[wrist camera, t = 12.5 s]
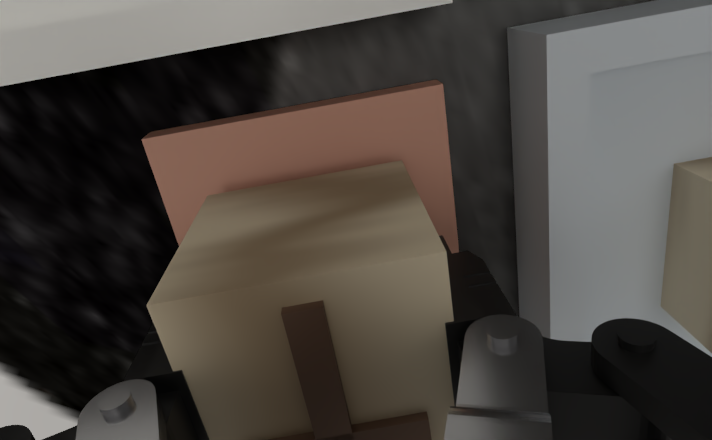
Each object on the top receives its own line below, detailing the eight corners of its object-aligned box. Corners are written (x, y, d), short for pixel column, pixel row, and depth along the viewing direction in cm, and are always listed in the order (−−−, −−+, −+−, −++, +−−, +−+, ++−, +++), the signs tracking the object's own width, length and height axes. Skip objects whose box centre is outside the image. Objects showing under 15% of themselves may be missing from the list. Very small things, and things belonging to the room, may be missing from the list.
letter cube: (401, 160, 13) (449, 257, 8) (423, 321, 15) (472, 474, 10) (207, 195, 13) (142, 312, 8) (255, 351, 15) (226, 517, 10)
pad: (436, 79, 14) (443, 84, 13) (460, 318, 17) (466, 332, 17) (150, 131, 14) (141, 139, 13) (228, 359, 17) (224, 375, 17)
